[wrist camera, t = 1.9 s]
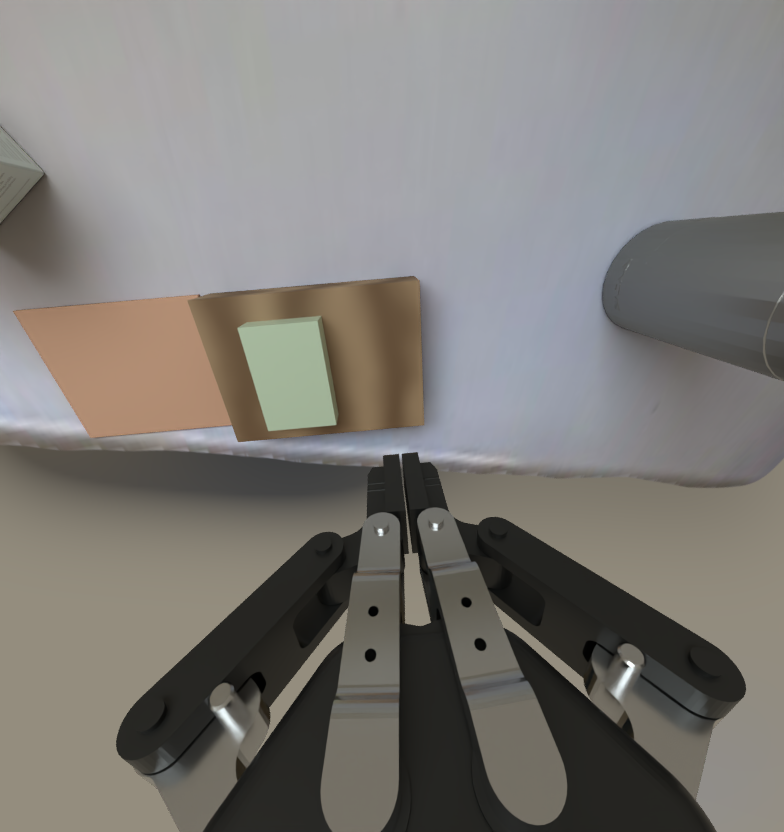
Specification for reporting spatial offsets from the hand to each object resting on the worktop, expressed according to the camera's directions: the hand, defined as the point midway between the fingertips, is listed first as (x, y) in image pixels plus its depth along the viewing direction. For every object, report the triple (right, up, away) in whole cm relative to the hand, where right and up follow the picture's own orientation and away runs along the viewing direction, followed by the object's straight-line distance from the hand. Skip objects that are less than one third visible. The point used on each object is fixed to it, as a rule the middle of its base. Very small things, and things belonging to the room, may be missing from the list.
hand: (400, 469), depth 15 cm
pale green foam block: (-9, +6, +13) cm, 17 cm away
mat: (-25, +7, +16) cm, 31 cm away
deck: (-7, +8, +17) cm, 20 cm away
